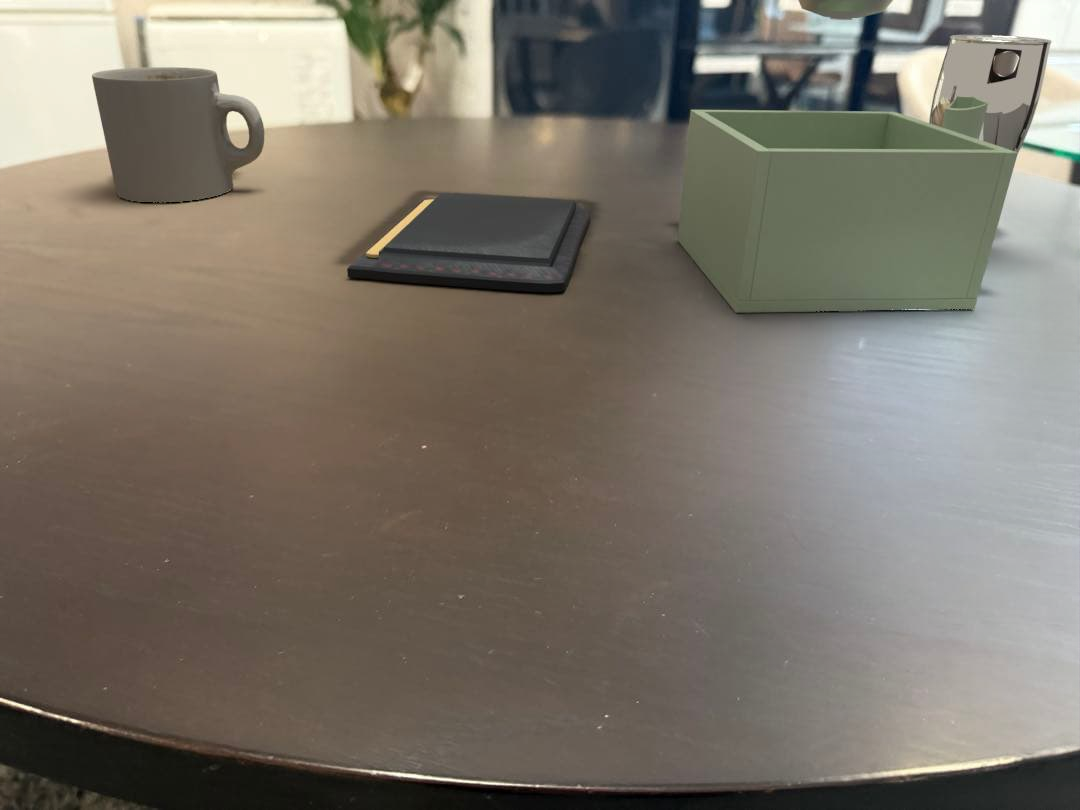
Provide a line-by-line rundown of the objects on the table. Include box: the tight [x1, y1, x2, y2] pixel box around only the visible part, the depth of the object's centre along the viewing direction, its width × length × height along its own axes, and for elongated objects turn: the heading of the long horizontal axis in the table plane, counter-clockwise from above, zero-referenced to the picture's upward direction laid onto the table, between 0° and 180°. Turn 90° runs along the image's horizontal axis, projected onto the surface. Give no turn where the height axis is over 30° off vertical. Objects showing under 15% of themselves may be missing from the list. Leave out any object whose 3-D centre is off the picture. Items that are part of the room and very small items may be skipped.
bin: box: [677, 109, 1019, 314], centre depth 57 cm, size 16×16×10 cm
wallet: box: [346, 192, 591, 294], centre depth 63 cm, size 20×2×15 cm
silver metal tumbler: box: [928, 34, 1053, 156], centre depth 63 cm, size 7×7×15 cm
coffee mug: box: [91, 66, 265, 204], centre depth 74 cm, size 13×10×10 cm
